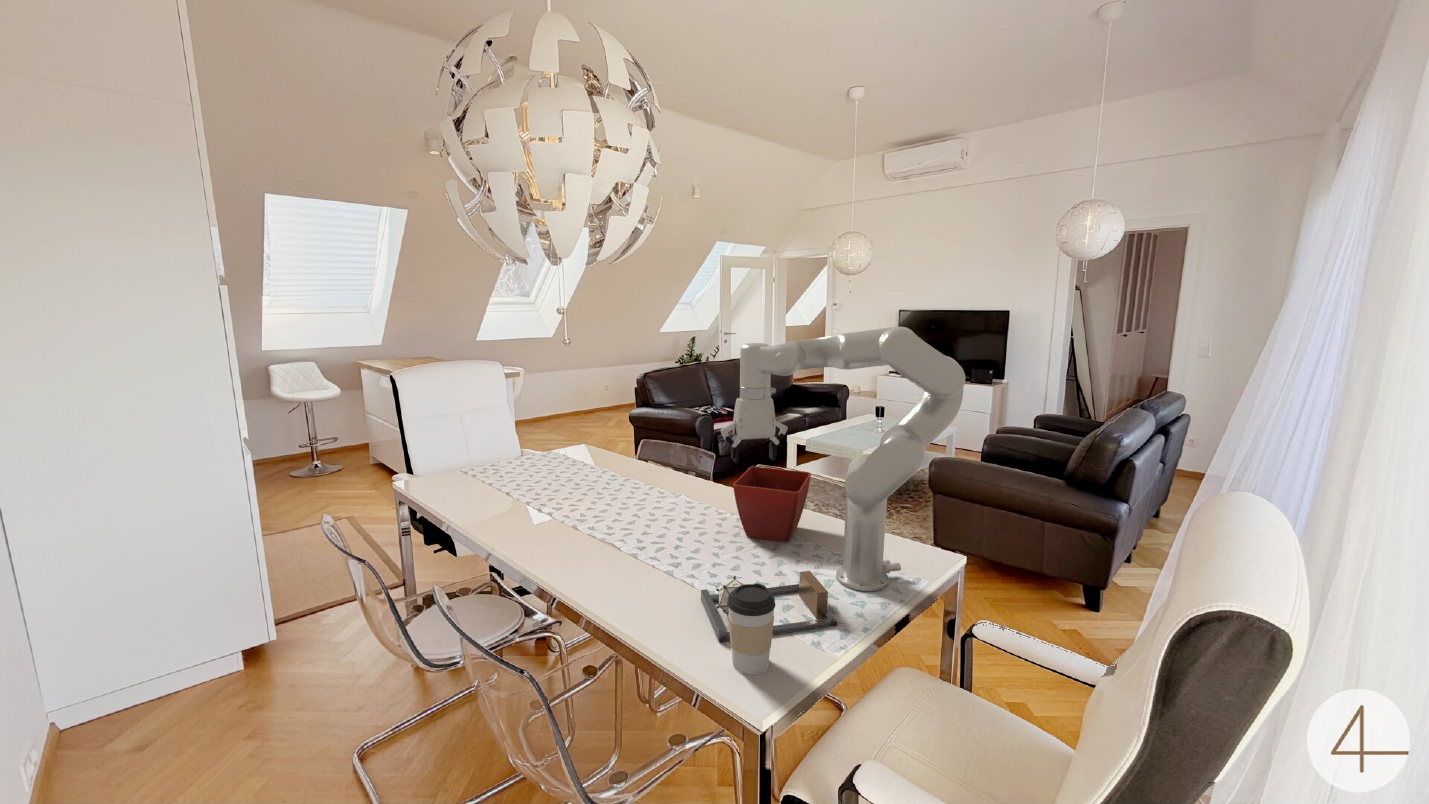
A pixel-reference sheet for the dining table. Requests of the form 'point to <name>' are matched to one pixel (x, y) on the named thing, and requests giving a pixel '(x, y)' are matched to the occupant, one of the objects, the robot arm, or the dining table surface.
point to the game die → (726, 594)
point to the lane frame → (807, 587)
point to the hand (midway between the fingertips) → (754, 460)
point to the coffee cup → (751, 627)
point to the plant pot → (771, 501)
